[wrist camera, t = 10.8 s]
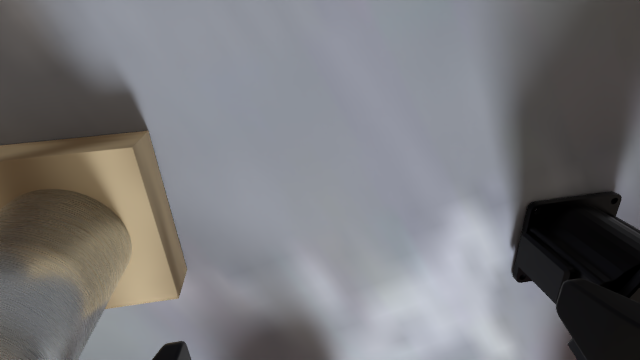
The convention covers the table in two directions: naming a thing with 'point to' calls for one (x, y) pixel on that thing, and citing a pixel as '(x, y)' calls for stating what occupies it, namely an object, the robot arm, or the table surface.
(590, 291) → the robot arm
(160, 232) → the oak board
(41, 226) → the canister
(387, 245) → the table surface
